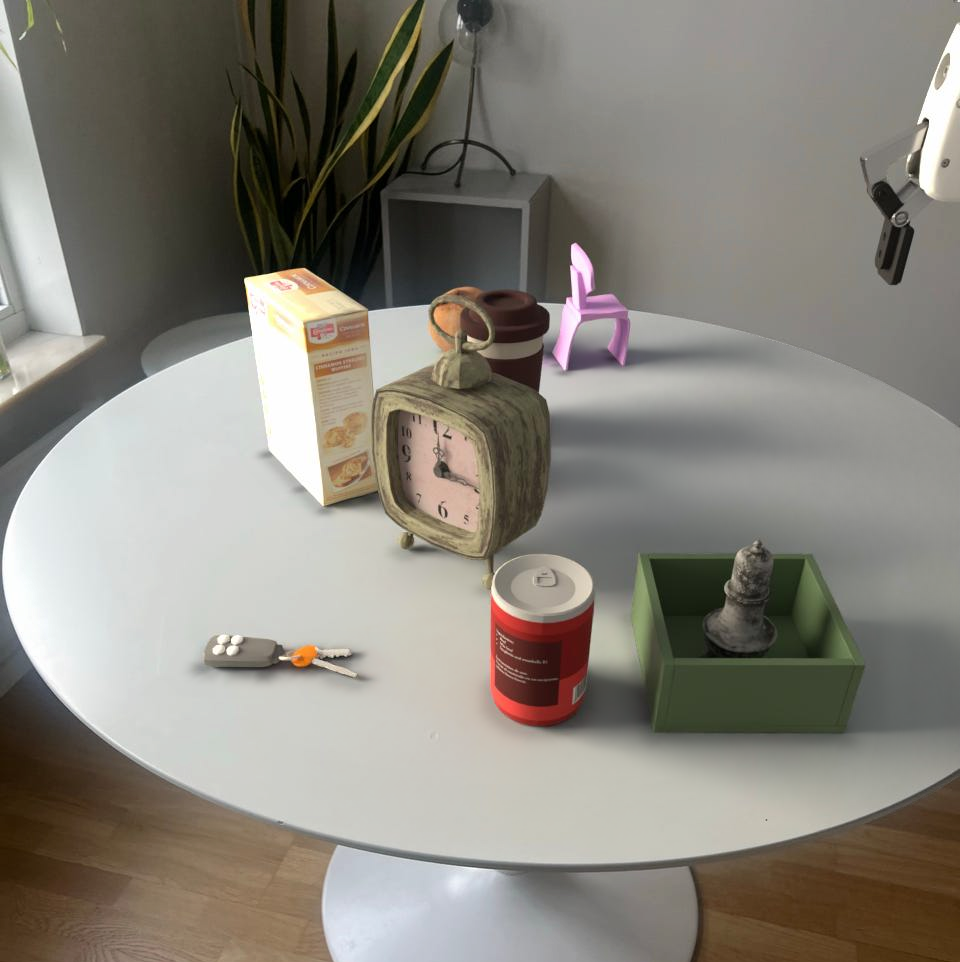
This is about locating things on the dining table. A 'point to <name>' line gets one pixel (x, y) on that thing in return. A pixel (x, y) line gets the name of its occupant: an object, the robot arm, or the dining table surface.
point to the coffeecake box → (315, 381)
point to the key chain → (265, 654)
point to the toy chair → (589, 311)
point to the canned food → (540, 637)
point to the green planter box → (742, 681)
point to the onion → (451, 316)
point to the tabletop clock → (461, 450)
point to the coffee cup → (510, 334)
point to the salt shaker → (743, 609)
